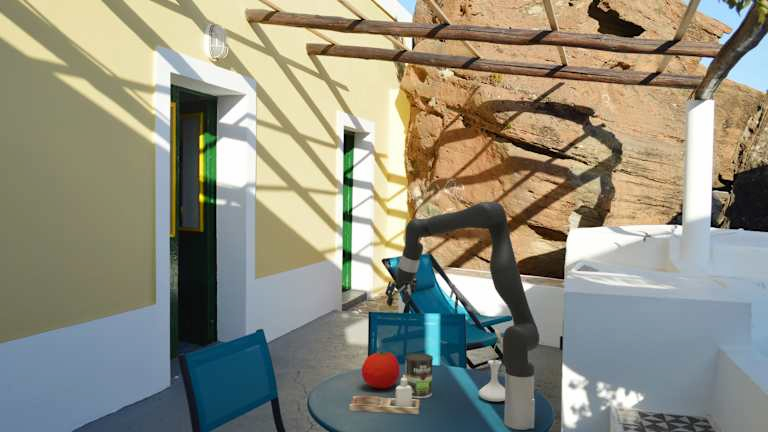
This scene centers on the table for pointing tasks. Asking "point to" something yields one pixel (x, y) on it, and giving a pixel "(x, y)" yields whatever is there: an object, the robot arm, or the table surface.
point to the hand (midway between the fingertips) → (396, 303)
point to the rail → (382, 405)
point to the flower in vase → (494, 379)
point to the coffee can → (419, 374)
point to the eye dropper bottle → (404, 394)
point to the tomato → (380, 370)
